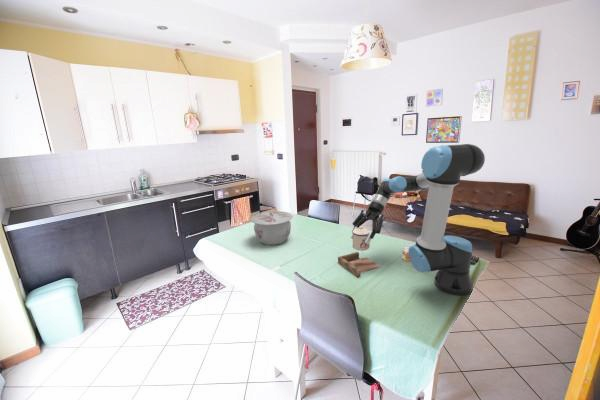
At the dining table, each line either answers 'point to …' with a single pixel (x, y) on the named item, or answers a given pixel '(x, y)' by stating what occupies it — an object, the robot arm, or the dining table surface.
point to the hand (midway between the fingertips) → (359, 240)
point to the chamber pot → (272, 227)
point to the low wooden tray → (356, 263)
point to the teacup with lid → (360, 238)
